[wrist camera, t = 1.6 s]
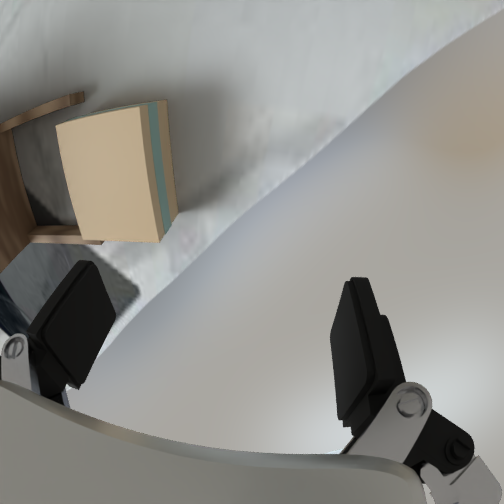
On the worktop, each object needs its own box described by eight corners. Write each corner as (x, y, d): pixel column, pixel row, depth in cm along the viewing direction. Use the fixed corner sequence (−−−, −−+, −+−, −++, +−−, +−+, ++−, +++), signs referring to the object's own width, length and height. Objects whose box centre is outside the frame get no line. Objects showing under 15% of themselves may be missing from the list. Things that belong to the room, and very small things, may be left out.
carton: (168, 98, 22) (139, 106, 18) (179, 212, 29) (159, 243, 24) (91, 112, 23) (55, 125, 18) (109, 212, 30) (82, 240, 25)
